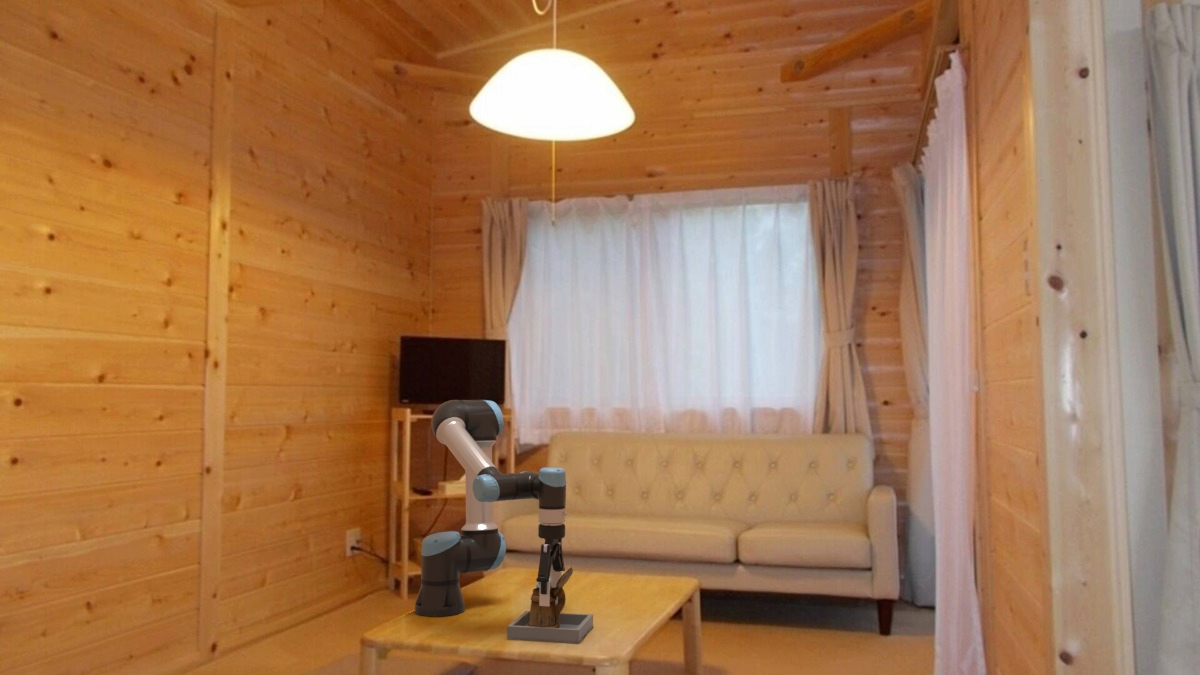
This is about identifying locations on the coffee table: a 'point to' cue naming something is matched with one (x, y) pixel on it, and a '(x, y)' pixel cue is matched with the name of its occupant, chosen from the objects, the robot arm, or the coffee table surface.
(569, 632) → the slate tray
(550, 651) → the coffee table surface
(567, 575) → the wooden mug
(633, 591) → the coffee table surface
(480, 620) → the coffee table surface
